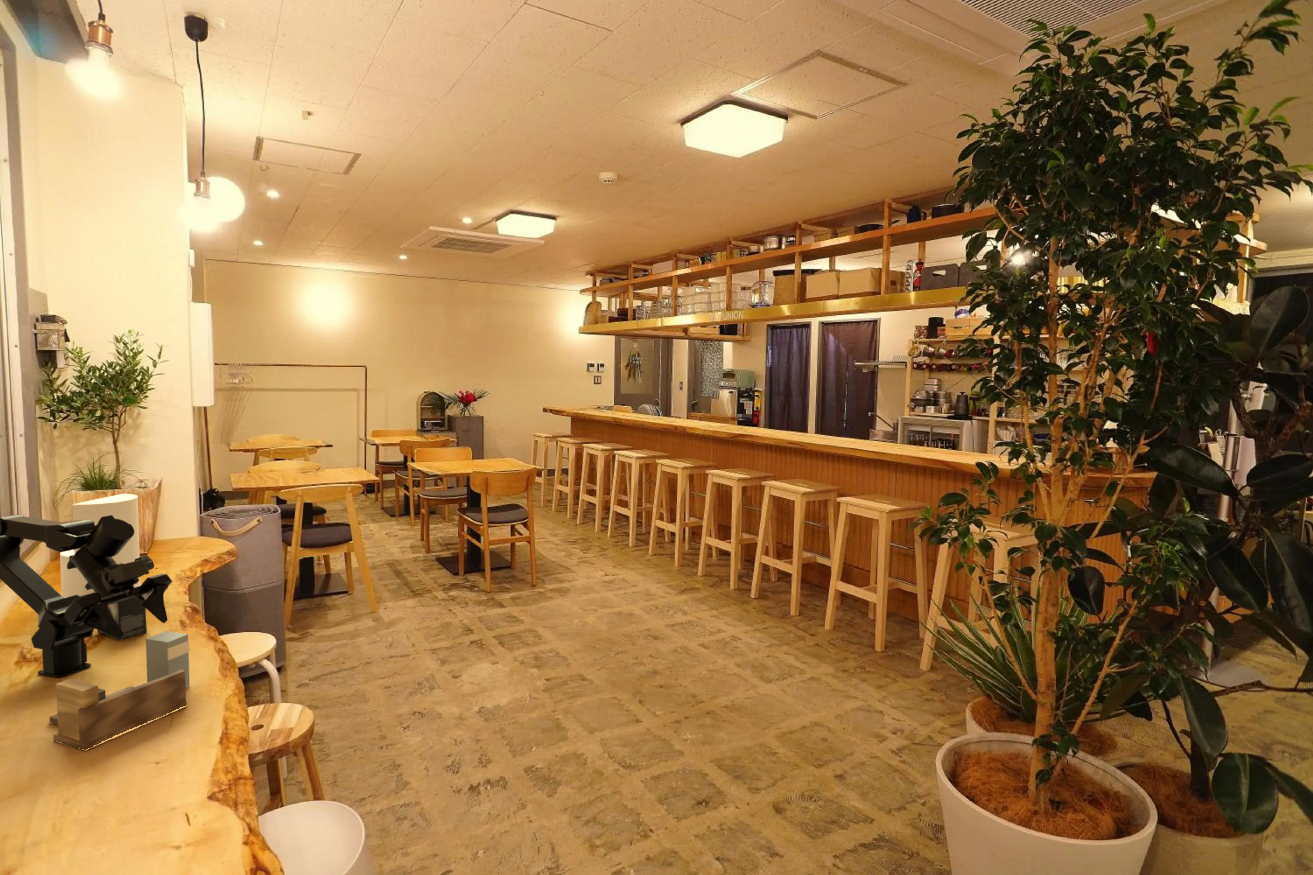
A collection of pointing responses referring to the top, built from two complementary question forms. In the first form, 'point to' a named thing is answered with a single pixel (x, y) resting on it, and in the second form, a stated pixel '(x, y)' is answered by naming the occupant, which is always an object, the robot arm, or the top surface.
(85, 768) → the top surface
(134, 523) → the cylinder
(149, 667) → the grey upright block
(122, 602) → the small box
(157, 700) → the wooden l-bracket
